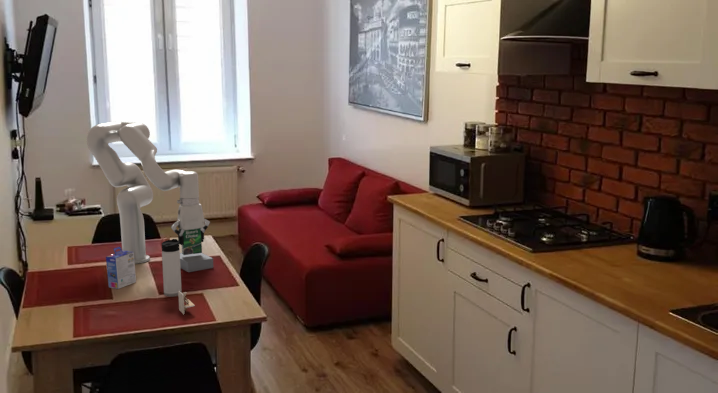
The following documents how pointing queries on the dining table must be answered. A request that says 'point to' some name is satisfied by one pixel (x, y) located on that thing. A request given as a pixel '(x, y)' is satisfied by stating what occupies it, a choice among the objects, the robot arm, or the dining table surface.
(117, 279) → the ink cartridge box
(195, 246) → the coffee box
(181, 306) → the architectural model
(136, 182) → the robot arm
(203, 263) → the base block
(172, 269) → the travel mug
